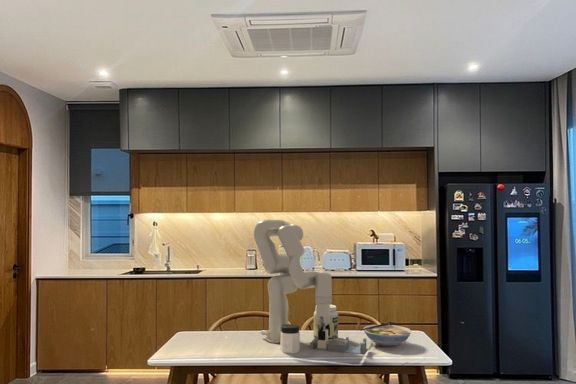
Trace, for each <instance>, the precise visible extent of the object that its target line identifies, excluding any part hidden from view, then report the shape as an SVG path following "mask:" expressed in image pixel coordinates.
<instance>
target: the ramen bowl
mask: <svg viewBox="0 0 576 384" xmlns="http://www.w3.org/2000/svg"><path fill="white" fill-rule="evenodd" d="M394 324H395V322H392V321H388V322H385V323H380V324H371V325H370V324H369V325H366V326H364V327H363V328H362V329H360V331H364V334H365V335H366V337H367V338H368V339H369V340H370V341H372V342H373V343H375V344H377V345H379V346H380V345H381V346H380V347H384V346H385V347H386V348H392V347H396V346H397V345H401V344H403V343H404V342H406V341H407V340H408V338H409V337H410V335H411V333H412V330H411V329H410V328H408V327H405V326H401V325H400V326H399V325H394ZM385 347H384V348H385Z"/></svg>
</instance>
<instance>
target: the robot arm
mask: <svg viewBox="0 0 576 384" xmlns="http://www.w3.org/2000/svg"><path fill="white" fill-rule="evenodd" d="M270 237H278V239H279V241H280V243H281V245H282V247H283V250H285V252H286V254H279V252H278V250H277V247H276V245H275V243H274V242H273V240H272V239H271V238H270ZM253 239H254V241H255V244H256V246H257V248H258V251H259V254H260V257H261V261H262V264H263V268H264V270H265V272H266V273H268V274H269V275H275V276H272V277H270V279H269V280H268V282H267V292H268V303H269V304H268V306H269V307H268V308H269V309H268V313H269V314H268V317H269V318H268V319H269V320H268V330H264V329H263V330H261V332H260V335H262V336H266V337H265V341H266V342H268V343H273V344H280V338H281V326H282V325H284V324H289V300H288V297H287V295H288V294H292V293H295V292H297V290H298V289H300V290H307V289H312V288H315V296H314V297H315V304H316V305H317V308H316V307H315V308H316V309H315V311H316V325H317V326H318V340H325V331H324V330H325V329H328V336H330V305H333V304H332V303H333V300H332V299H333V295H332V294H333V293H332V292H333V290H332V286H333V285H332V274H330V273H329V272H317V271H306V272H304V270H303V267H302V265H301V261H300V260H301V257H302V256H303V255H304V254H305V248H304V247H303V245H302V243H301V240H302V239H304V231H303V229H302V228H301V226H299V225H298V224H295V223H291V222H288V221H285V220H281V219H262V220H261V221H259V222H257V224H256V225H255V227H254V230H253ZM277 274H279V275H277Z"/></svg>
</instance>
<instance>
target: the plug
mask: <svg viewBox="0 0 576 384" xmlns="http://www.w3.org/2000/svg"><path fill="white" fill-rule="evenodd" d="M324 331H325V340H318V348H323V349H326V348H327V347H328V343H329V341H328V329H325V330H324Z"/></svg>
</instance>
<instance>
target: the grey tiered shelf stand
mask: <svg viewBox="0 0 576 384" xmlns="http://www.w3.org/2000/svg"><path fill="white" fill-rule="evenodd" d="M349 341H350V337H349V336H346V337H345V339H339V338H338V339H332V340H331V341H328V347H327V348H326V349H323V348H318V338H315V339H314V338H313V339H312V340H311V341H310V343H309V344H310V345H309V346H310V347H309V349H310V350H314V351H324V352H325V351H326V352H336V353H347V354H358V355H364V353H365V351H366V350H367V338H365V337H364V338H363V339H362V342H360V346H350V342H349Z"/></svg>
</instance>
